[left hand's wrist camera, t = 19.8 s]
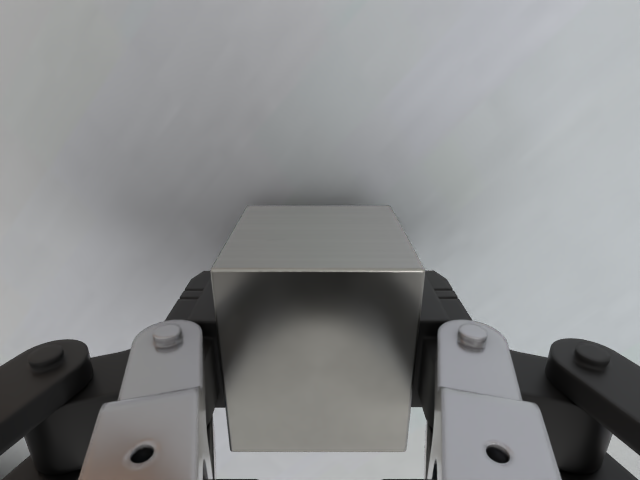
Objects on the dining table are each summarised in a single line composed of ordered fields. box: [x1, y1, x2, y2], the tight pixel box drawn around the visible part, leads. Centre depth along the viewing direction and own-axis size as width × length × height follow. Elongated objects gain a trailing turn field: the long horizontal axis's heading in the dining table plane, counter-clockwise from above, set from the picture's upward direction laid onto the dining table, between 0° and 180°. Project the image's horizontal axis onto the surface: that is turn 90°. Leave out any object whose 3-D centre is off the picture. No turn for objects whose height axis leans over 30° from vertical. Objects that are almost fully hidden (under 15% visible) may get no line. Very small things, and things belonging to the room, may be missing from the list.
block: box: [211, 205, 425, 452], centre depth 10 cm, size 4×5×4 cm
